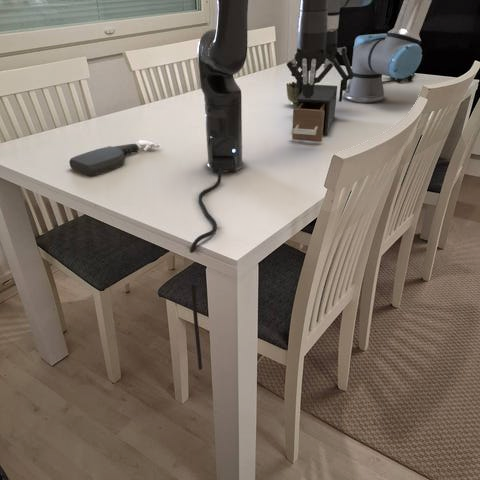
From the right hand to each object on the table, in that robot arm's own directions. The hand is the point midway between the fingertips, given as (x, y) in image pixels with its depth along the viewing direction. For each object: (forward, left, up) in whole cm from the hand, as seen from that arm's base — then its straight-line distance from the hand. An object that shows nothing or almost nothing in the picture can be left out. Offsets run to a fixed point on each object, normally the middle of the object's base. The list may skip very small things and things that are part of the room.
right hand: (320, 99), depth 150 cm
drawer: (+18, +6, -6) cm, 20 cm away
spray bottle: (+64, -29, -7) cm, 71 cm away
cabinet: (+7, +2, -7) cm, 10 cm away
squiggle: (-71, +4, -7) cm, 72 cm away
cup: (-9, -15, -7) cm, 19 cm away
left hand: (+26, +9, +7) cm, 28 cm away
